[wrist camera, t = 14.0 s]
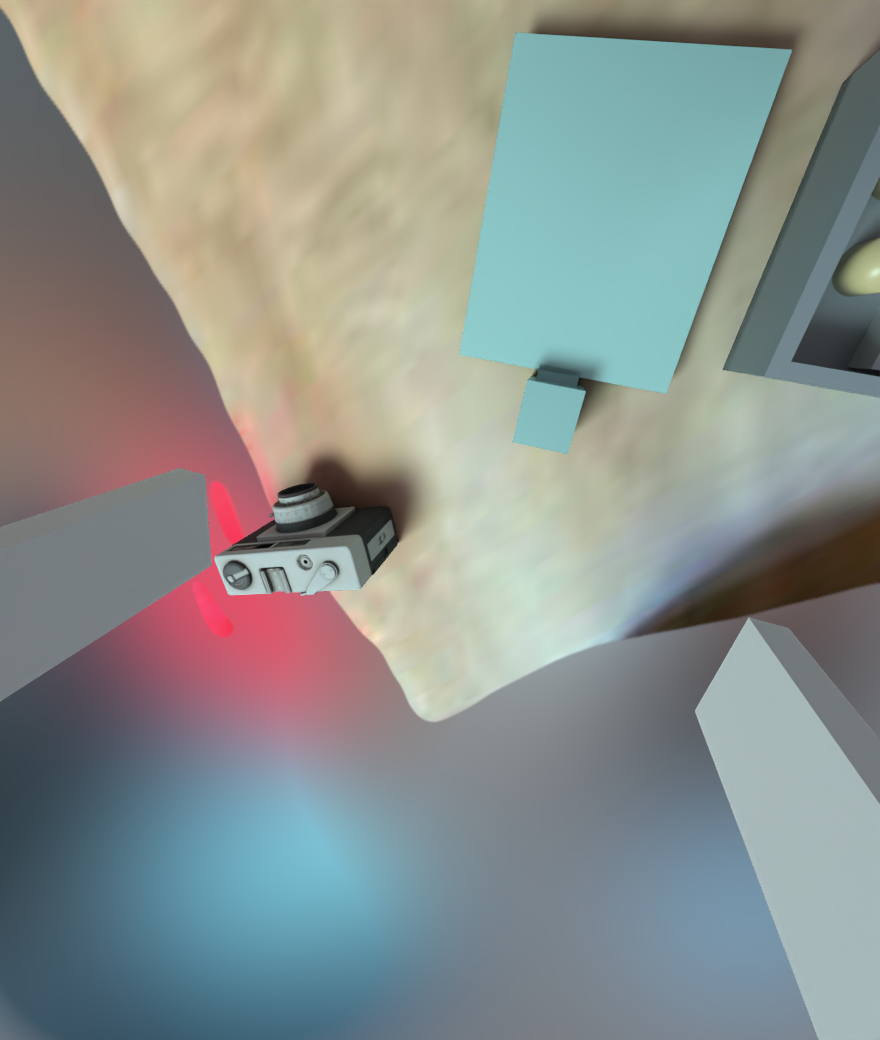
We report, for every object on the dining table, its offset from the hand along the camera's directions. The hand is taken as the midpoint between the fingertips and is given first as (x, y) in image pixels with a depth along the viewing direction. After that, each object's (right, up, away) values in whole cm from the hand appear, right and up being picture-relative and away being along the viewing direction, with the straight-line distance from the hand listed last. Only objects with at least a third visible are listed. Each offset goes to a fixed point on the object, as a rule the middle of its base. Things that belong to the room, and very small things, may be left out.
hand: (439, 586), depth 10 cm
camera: (-11, +2, +35) cm, 36 cm away
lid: (+11, +19, +21) cm, 31 cm away
